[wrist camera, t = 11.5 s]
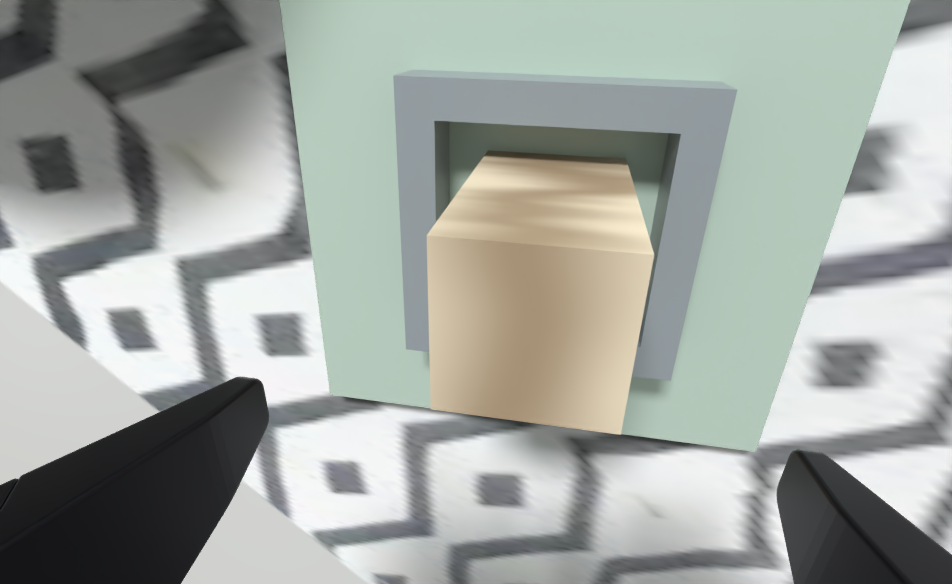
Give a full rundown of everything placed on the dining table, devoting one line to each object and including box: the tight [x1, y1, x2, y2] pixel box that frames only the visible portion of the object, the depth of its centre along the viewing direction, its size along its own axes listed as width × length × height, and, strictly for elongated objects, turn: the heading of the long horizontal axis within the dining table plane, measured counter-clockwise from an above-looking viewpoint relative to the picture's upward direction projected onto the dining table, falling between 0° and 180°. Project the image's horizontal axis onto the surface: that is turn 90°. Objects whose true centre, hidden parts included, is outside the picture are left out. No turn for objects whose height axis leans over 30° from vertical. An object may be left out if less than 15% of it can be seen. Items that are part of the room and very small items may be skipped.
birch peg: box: [427, 150, 654, 435], centre depth 15 cm, size 4×4×8 cm
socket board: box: [279, 0, 910, 452], centre depth 18 cm, size 18×18×3 cm
